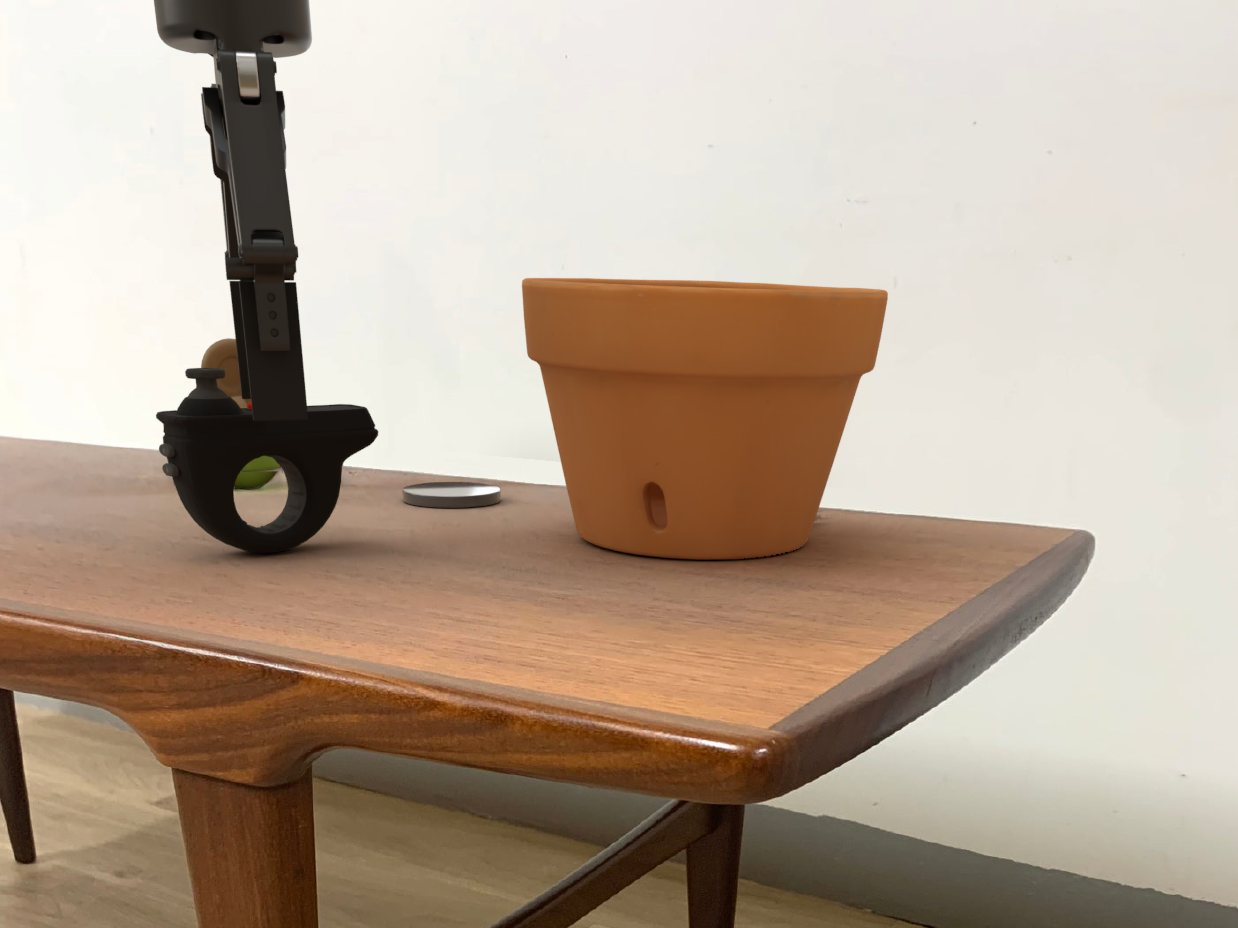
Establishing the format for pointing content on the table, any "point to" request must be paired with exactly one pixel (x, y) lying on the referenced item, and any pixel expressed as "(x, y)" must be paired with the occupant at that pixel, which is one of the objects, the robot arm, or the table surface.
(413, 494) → the slate coaster
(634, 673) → the table surface
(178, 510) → the table surface
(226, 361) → the snail figurine
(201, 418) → the controller
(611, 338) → the flower pot
